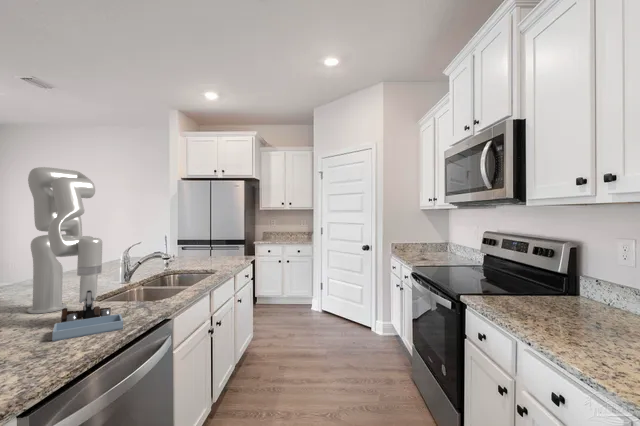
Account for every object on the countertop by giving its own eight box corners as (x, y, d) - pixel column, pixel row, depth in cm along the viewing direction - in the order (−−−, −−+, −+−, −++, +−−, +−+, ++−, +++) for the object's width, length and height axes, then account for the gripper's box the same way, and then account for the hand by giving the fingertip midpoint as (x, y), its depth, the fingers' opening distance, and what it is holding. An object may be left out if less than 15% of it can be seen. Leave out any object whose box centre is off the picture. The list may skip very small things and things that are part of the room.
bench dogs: (66, 327, 114) (67, 314, 114) (110, 320, 122) (110, 308, 122) (66, 329, 112) (66, 316, 112) (110, 322, 120) (110, 310, 120)
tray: (54, 332, 109) (54, 323, 109) (120, 321, 121) (120, 313, 121) (52, 341, 101) (52, 332, 101) (123, 329, 113) (123, 320, 113)
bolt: (109, 321, 125) (60, 327, 115) (109, 312, 128) (61, 317, 119) (111, 310, 122) (61, 315, 113) (111, 301, 126) (62, 305, 117)
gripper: (77, 267, 126) (76, 313, 126) (76, 275, 112) (75, 326, 112) (100, 266, 130) (99, 310, 130) (102, 273, 116) (101, 323, 116)
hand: (88, 317), depth 121 cm, fingers closed on bolt, 5 cm apart
